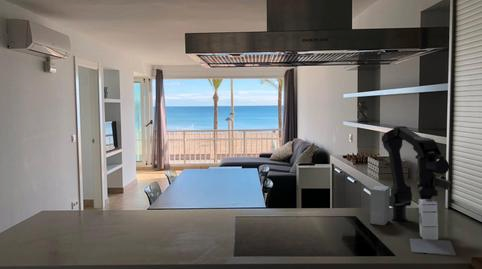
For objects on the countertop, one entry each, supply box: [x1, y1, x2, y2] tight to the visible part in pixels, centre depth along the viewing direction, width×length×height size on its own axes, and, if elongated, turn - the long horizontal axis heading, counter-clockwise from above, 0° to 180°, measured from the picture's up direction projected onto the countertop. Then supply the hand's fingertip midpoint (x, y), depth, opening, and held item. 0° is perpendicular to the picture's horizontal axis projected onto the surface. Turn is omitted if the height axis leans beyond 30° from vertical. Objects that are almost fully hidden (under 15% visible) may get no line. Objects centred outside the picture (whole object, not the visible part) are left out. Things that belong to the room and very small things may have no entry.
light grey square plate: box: [409, 238, 457, 257], centre depth 150 cm, size 15×14×1 cm
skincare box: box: [369, 185, 391, 226], centre depth 184 cm, size 8×7×16 cm
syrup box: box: [418, 198, 439, 240], centre depth 161 cm, size 6×6×14 cm
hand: (427, 209), depth 167 cm, fingers closed
